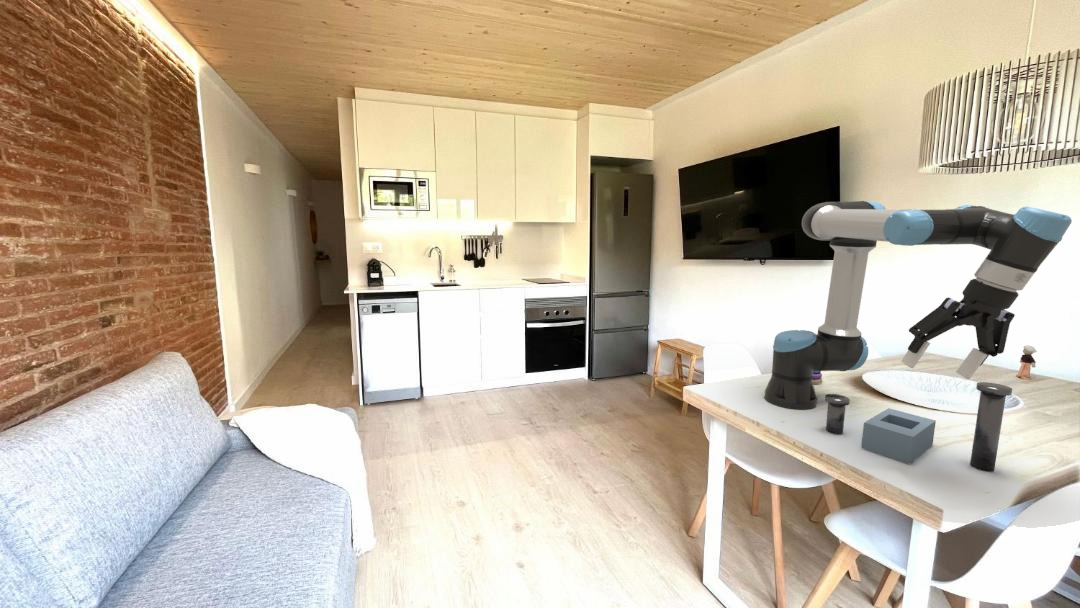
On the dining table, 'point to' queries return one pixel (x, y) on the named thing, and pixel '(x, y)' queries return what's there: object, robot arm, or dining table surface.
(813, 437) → the dining table surface
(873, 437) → the guide block
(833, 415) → the short pin
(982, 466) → the tall pin
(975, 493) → the dining table surface
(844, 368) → the robot arm
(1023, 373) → the grandmother figurine
